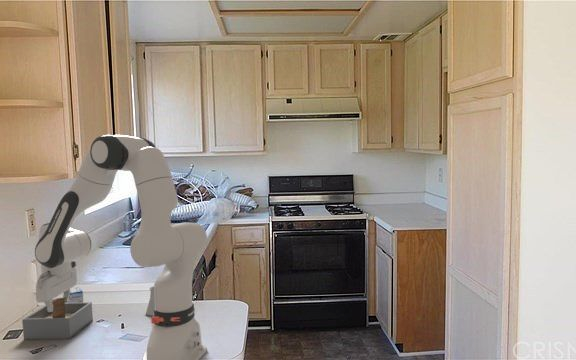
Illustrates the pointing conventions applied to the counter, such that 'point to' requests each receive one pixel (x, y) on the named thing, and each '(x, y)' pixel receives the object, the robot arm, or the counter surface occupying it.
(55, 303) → the wooden peg
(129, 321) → the counter surface
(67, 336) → the storage box
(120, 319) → the counter surface
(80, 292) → the medicine box
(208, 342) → the counter surface
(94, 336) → the counter surface
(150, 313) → the flask
